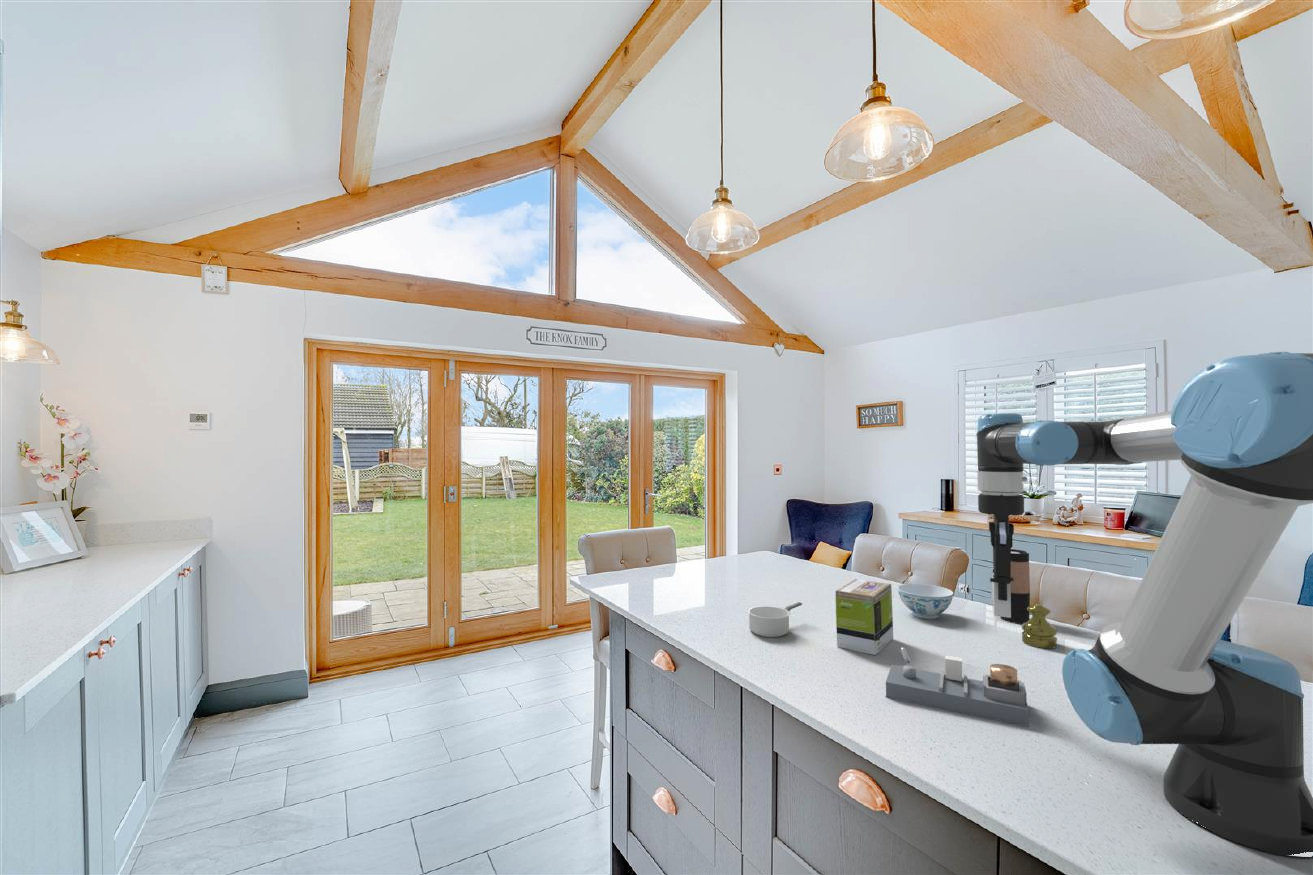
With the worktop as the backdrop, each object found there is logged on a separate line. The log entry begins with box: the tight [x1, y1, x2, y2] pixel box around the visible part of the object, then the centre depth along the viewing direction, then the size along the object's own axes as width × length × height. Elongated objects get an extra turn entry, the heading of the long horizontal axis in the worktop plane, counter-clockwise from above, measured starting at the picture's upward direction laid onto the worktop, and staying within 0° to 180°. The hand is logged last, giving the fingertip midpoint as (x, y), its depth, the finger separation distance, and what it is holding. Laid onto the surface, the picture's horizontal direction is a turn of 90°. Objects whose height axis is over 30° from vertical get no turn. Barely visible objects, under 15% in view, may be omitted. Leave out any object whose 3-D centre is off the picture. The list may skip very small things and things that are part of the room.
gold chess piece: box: [1021, 603, 1058, 650], centre depth 139 cm, size 7×7×10 cm
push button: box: [989, 663, 1018, 686], centre depth 104 cm, size 4×4×2 cm
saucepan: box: [747, 601, 803, 638], centre depth 152 cm, size 12×20×6 cm, turn 129°
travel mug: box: [999, 548, 1031, 624], centre depth 159 cm, size 8×8×20 cm
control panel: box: [885, 664, 1030, 727], centre depth 108 cm, size 10×24×5 cm, turn 60°
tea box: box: [835, 578, 894, 656], centre depth 140 cm, size 15×10×15 cm, turn 141°
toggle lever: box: [900, 647, 911, 665], centre depth 113 cm, size 1×1×3 cm
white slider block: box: [944, 655, 963, 681], centre depth 111 cm, size 2×3×4 cm, turn 60°
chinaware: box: [897, 583, 954, 620], centre depth 163 cm, size 15×15×8 cm
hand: (1002, 615), depth 105 cm, fingers closed
